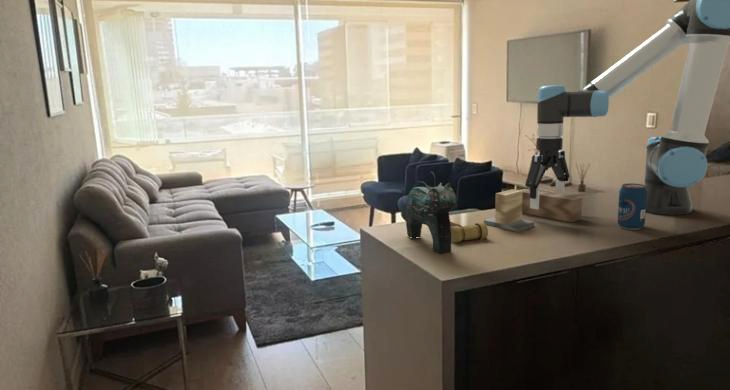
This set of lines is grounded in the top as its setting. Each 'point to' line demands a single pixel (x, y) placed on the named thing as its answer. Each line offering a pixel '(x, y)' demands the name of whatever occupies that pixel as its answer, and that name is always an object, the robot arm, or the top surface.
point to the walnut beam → (554, 206)
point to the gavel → (468, 232)
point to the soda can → (632, 206)
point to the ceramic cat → (431, 213)
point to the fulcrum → (509, 211)
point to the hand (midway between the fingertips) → (547, 204)
